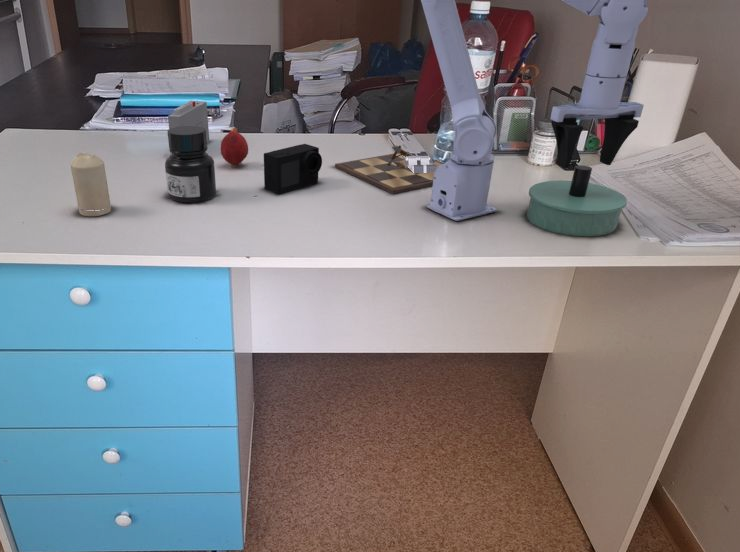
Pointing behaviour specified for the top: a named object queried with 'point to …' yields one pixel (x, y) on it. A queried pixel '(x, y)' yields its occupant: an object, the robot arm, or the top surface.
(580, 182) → the tin lid
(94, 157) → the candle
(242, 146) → the onion
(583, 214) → the tin
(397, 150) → the wooden post with brackets
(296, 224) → the top surface
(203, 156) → the ink bottle
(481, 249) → the top surface
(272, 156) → the digital camera
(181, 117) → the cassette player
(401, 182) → the chessboard
